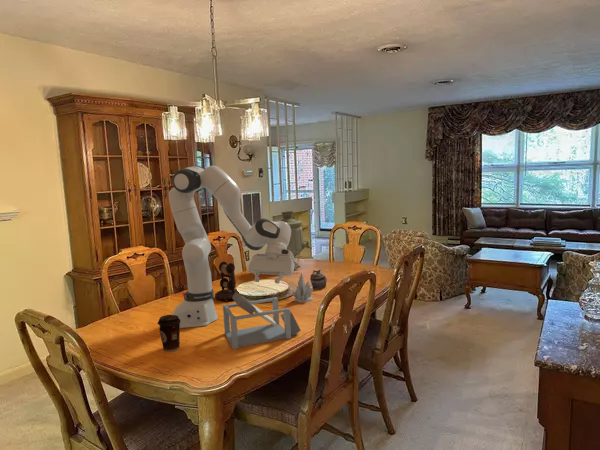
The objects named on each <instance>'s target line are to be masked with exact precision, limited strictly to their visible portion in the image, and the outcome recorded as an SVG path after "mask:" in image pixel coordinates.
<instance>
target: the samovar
mask: <svg viewBox="0 0 600 450" xmlns="http://www.w3.org/2000/svg"><path fill="white" fill-rule="evenodd" d="M293 213H294V211H293V210H291V211H289V210H288V211H287V210H286V211H280V214H281V215H282V218H283V219H281V220H280V221H283V222H286V223H287V224H288V225H289V226H290V228H291V237H290V241H289V244H288V246H287V250H289V251H291V252H292V254H293V256H294V258H295V259H296V256H298V255H300V254H301V253H302V252H303V250H304V249H305V248H306V249H310V250H312V249H313V247H312V246H311V245H309V242H310V240H308V239H305V240H304V234H303V227H302V225H303V220H298V219H297V220H296V219H295V217H294V216H293ZM304 242H305V243H306V245H305V244H304ZM294 264H295V267H294V271H296V272H298V269H297V268H301V265H299V263H297V262H296V261H294Z"/></svg>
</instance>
